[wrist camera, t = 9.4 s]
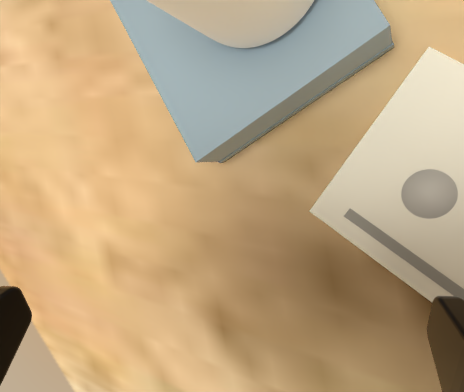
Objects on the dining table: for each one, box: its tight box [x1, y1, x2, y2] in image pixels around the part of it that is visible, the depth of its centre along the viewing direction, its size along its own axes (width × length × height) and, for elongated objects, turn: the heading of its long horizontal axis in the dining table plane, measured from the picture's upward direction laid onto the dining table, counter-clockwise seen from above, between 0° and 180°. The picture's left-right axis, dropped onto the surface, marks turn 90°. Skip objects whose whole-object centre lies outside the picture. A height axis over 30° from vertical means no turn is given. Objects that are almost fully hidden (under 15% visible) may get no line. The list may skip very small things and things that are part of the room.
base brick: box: [110, 0, 394, 163], centre depth 18 cm, size 10×10×3 cm
